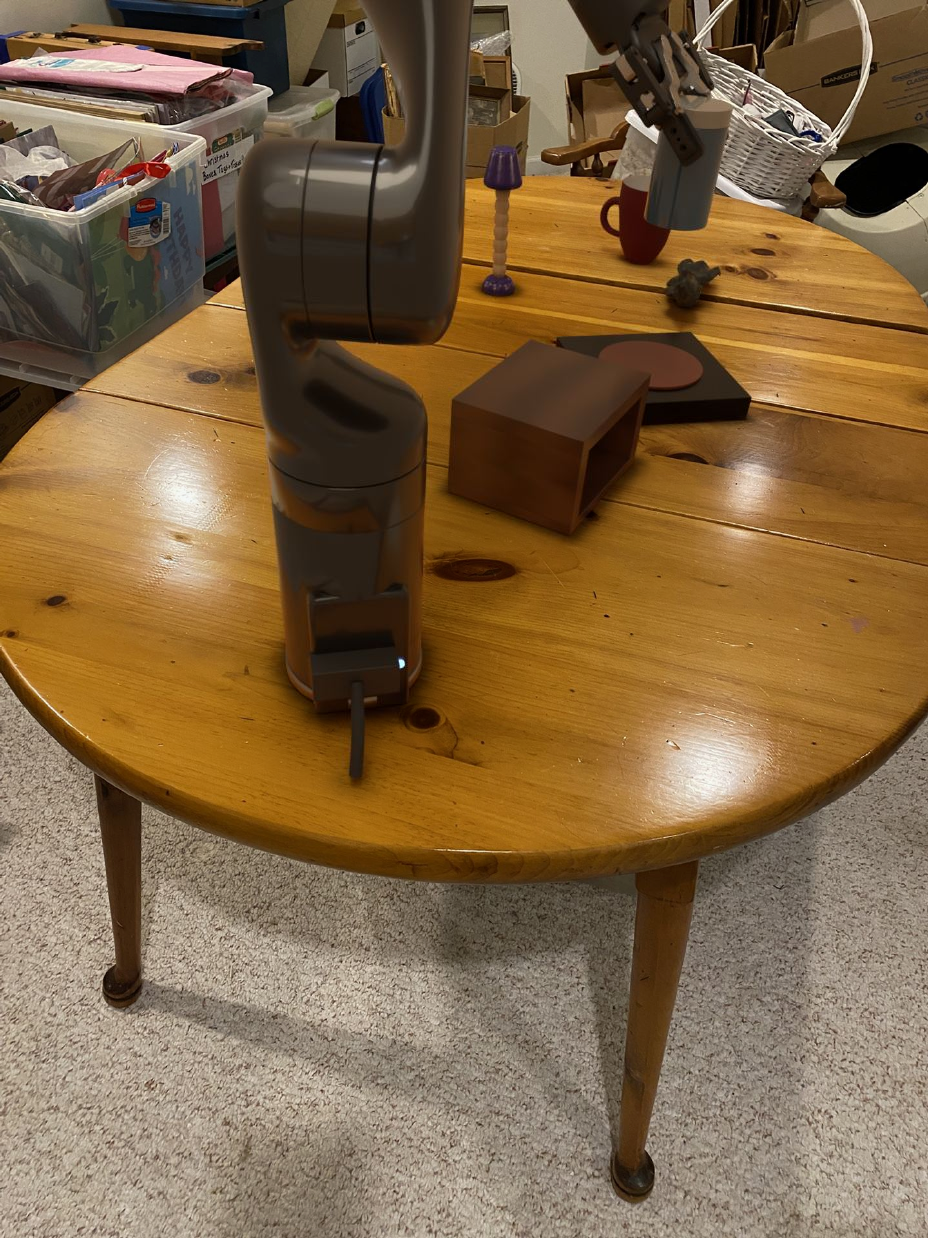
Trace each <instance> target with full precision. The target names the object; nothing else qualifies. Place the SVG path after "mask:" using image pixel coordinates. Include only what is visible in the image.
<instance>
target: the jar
mask: <svg viewBox="0 0 928 1238" xmlns="http://www.w3.org/2000/svg"><path fill="white" fill-rule="evenodd" d="M679 98H680V101H681V104H682V106H683V109H684V113H682V114H681V116H682V115H683V114H685V113H686V115H687V116H688V118H689V120H690V122H691V123H692V125H693V127H694V129H695V130H696V132H697V134H698V136H699V137H700V139H701V141H702V143H703V144H704V146H705V149H706V151H705V154H704V155H703V156H702V157H700V158H699V159H698V160H696V161H695V162H694V163H692V164H691V165H689V166H687V167H684V166H683V165H682V164H681V163H680V161H679V159H678V157H677V156H676V154H675V152H674V150H673V149H672V147H671V145H670V143H669V142H668V140H667V138H666V136H665V135H664V133H663V130H661V131H658V136H657V141H656V146H655V152H654V158H653V164H652V169H651V174H650V175H651V180H650V185H649V191H648V197H647V202H646V208H645V213H644V218H645V220H646V221H647V222H649V223H650V224H652V225H655V226H657V227H661V228H664V229H669V230H671V231H677V232H695V231H700V230H703V229H705V228H706V227H707V226H708V222H709V218H710V213H711V209H712V204H713V200H714V195H715V191H716V188H717V187H716V186H717V182H718V178H719V173H720V169H721V164H722V160H723V155H724V151H725V147H726V142H727V141H726V138H727V133H729V129H730V125H731V121H732V115H733V111H734V105H733V104H732V103H729V102H728V101H725V100H722V99H718V98H713V97H712V98H709V97H703V96H692V95H679Z"/></svg>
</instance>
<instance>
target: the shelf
mask: <svg viewBox="0 0 928 1238" xmlns="http://www.w3.org/2000/svg"><path fill="white" fill-rule="evenodd" d="M650 379H651V374H650V373H646V372H643V371H639V370H636V369H632V368H629V367H625V366H622V365H619V364H615V363H612V362H608V361H605V360H601V359H598V358H594V357H591V356H587V355H584V354H580V353H577V352H573V351H570V350H566V349H563V348H559V347H556V345H552V344H549V343H546V342H543V341H542V342H541V341H539V340H538V341H537V340H535V339H529V340H528V341H526V342H525V343H524V344H523V345H521V346H520V347H519V348H517V349H516V350H515V351H513V352H512V353H510V355H508V356H507V357H505V358H504V359H503V360H501V361H500V362H499V363H497V364H496V365H495V366H493V367H492V368H491V369H490V370H488V371H487V372H485V374H483V375H481V376H480V377H479V378H478V379H476V380H475V381H474V382H472V383H471V384H470V385H468V386H467V387H465V388H464V389H463V390H462V391H461V392H459V393H458V394H456V395H455V396H454V397H453V398H451V405H450V407H451V408H450V425H449V426H450V430H449V446H448V447H449V448H448V466H447V467H448V469H447V470H448V471H447V488H446V489H447V490H446V491H447V492H448V493H451V494H454V495H456V496H459V497H461V498H464V499H467V500H470V501H473V502H475V503H478V504H481V505H483V506H486V507H489V508H491V509H494V510H497V511H500V512H502V513H505V514H508V515H511V516H513V517H516V518H519V519H521V520H525V521H527V522H530V523H533V524H535V525H538V526H541V527H543V528H547V529H549V530H552V531H555V532H557V533H560V534H563V535H565V536H568V537H569V536H571V535H572V534H573V532H574V531H576V529H577V528H578V526H579V525H580V524H582V522H583V521H584V520H585V519H586V518H587V517H588V515H589V514H590V513H591V512H592V511H593V510H594V508H595V507H596V506H597V505H598V504H599V503H600V501H601V500H602V499H603V498H604V497H605V495H607V494H608V492H609V491H610V490H611V489H612V488H613V486H614V485H615V484H616V483H617V482H618V481H619V480H620V478H622V476H623V475H624V474H625V473H626V472H627V470H628V469H629V468H630V467H631V466H632V465H633V464H634V462H635V458H636V453H637V447H638V443H639V438H640V433H641V429H642V425H641V423H642V418H643V413H644V408H645V403H646V398H647V393H648V389H649V384H650Z"/></svg>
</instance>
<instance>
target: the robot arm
mask: <svg viewBox="0 0 928 1238" xmlns="http://www.w3.org/2000/svg"><path fill="white" fill-rule="evenodd" d="M356 1H357V2H358V4H359V6H360V7H361V9H362V11H363V13H364V15H365V17H366V19H367V21H368V24H369V25H370V27H371V29H372V32H373V33H374V36H375V38H376V41H377V42H378V45H379V47H380V50H381V52H382V54H383V57H384V61H385V62H386V65H387V68H388V70H389V72H390V75H391V79H392V81H393V83H394V87H395V89H396V93H397V96H398V100H399V104H400V108H401V113H402V117H403V121H404V134H403V137H402V140H401V141H400V142H399V143H398V144H388V143H387V144H383V143H373V142H362V141H349V140H335V139H334V140H333V139H321V138H310V137H296V136H267V137H265V138H262V139H259V140H257V141H256V142H255V143H254V144H252V146H251V147H250V148H249V149H248V151H247V152H246V154H245V157H243V160H242V163H241V166H240V168H239V169H240V170H239V173H238V177H237V181H236V189H235V200H234V230H235V231H234V232H235V247H236V255H237V264H238V270H239V271H238V272H239V277H240V285H241V286H240V287H241V292H242V298H243V303H244V310H245V316H246V321H247V328H248V334H249V338H250V345H251V352H252V359H253V364H254V372H255V373H254V374H255V383H256V391H257V392H256V393H257V400H258V401H257V402H258V407H259V413H260V417H261V422H262V426H263V431H264V439H265V448H266V449H265V450H266V460H267V470H268V480H269V489H270V502H271V503H270V504H271V510H272V511H271V515H272V524H273V533H274V543H275V555H276V565H277V573H278V574H277V575H278V583H279V584H278V585H279V595H280V605H281V616H282V625H283V632H284V641H285V642H284V643H285V650H284V655H285V659H284V660H285V668H286V673H287V676H288V679H289V680H290V683H291V684H292V685H293V686H294V688H295V689H296V690H297V691H298V692H299V693H300V694H302V695H303V696H304V697H306V698H307V699H309V700H311V701H313V705H314V710H315V712H316V713H317V714H318V713H319V714H321V713H322V714H323V713H331V712H339V711H340V712H342V711H349V710H350V720H351V721H350V723H351V725H350V730H351V731H350V733H351V734H350V736H351V737H350V756H349V766H348V767H349V769H348V776H349V777H350V778H354V779H359V778H362V777H363V771H364V769H363V768H364V756H365V740H366V736H365V734H366V729H365V728H366V725H365V724H366V721H365V709H369V708H370V709H371V708H376V707H383V706H384V707H385V706H393V705H401V704H406V703H408V702H409V694H410V693H409V690H410V688H411V687H412V686H413V685H414V684H415V682H416V681H417V680H418V677H419V676H420V673H421V670H422V665H423V664H422V663H423V647H422V646H423V645H422V623H423V622H422V621H423V620H422V619H423V618H422V615H423V613H422V612H423V588H424V587H423V584H424V582H423V581H424V553H425V552H424V551H425V523H426V522H425V519H426V518H425V517H426V493H427V470H428V469H427V468H428V467H427V463H428V437H429V436H428V435H429V434H428V433H429V419H428V413H427V408H426V405H425V402H424V401H423V399H422V397H421V396H420V395H419V393H418V392H417V391H416V390H415V389H414V388H413V387H412V386H411V385H410V384H409V383H407V382H406V381H404V380H402V379H401V378H399V377H397V376H396V375H394V374H391V373H390V372H388V371H385V370H383V369H380V368H378V367H376V366H374V365H372V364H370V363H368V362H367V361H365V360H363V359H362V358H359V357H357V356H356V355H355V354H353V353H351V352H350V351H349V350H347V349H346V348H345V347H344V346H342V345H341V344H340V343H338V342H349V343H360V344H374V345H375V344H378V345H388V346H403V347H427V346H429V347H430V346H431V345H434V344H436V343H438V342H439V341H440V340H441V339H442V338H443V337H444V336H445V334H447V331H448V330H449V328H450V325H451V324H452V320H453V318H454V314H455V310H456V307H457V303H458V297H459V291H460V285H461V278H462V277H461V276H462V268H463V255H464V239H465V219H466V186H467V185H466V184H467V183H466V182H467V157H468V153H467V152H468V125H469V124H468V121H469V93H470V67H471V66H470V65H471V48H472V47H471V46H472V31H473V21H474V20H473V19H474V9H475V7H474V6H475V0H356ZM566 1H567V2H568V4H569V6H570V8H571V9H572V11H573V13H574V14H575V16H576V18H577V20H578V21H579V23H580V25H581V27H582V29H583V30H584V32H585V34H586V35H587V37H588V39H589V41H590V42H591V44H592V46H593V48H594V49H595V51H596V52H597V54H598V55H599V56H602V57H607V56H609V55H612V54H614V53H616V52H617V51H618V54H619V56H618V57H617V58H616V59H615V60H614V61H613V62H612V63H610V64H609V66H608V71H609V73H610V75H611V77H612V78H613V79H614V81H615V83H616V84H617V86H618V87H619V89H620V91H621V92H622V94H623V95H624V96H625V98H626V99H627V102H629V104H630V105H631V108H632V109H633V110H634V112H635V113H636V115H637V116H638V118H639V119H640V121H641V123H642V124H643V126H644V127H645V128H647V129H650V128H652V127H654V128H655V129H656V130H657V132H659V131H661V130H663V133H664V135H665V136H666V138H667V140H668V142H669V143H670V145H671V147H672V149H673V150H674V152H675V154H676V156H677V157H678V159H679V161H680V163H681V164H682V165H683V166H684V167H687V166H689V165H691V164H692V163H694V162H695V161H696V160H698V159H699V158H700V157H702V156H703V155H704V154H705V151H706V149H705V146H704V144H703V143H702V141H701V139H700V137H699V136H698V134H697V132H696V130H695V129H694V127H693V125H692V123H691V122H690V120H689V118H688V116H687V115H686V113H685V114H683V115H682V116H681V114H682V113H684V109H683V106H682V104H681V101H680V98H679V95H692V96H703V97H709V98H713V96H712V91H713V90H715V83H714V81H713V80H712V78H711V76H710V74H709V72H708V70H707V67H706V66H705V63H704V62H703V60H702V58H701V56H700V53H699V51H698V50H697V47H696V46H695V44H694V42H693V40H692V38H691V36H690V33H689V31H688V30H687V29H685V28H682V29H681V30H680V31H678V32H675V31H674V30H672V29H670V27H669V26H668V25H667V23H666V21H665V20H663V13H664V11H665V10H666V9H667V8H669V7H670V4H671V2H672V0H566ZM692 87H693V88H692ZM729 138H730V134H729V132H728V133H727V138H726V142H727V141H728V140H729Z"/></svg>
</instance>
